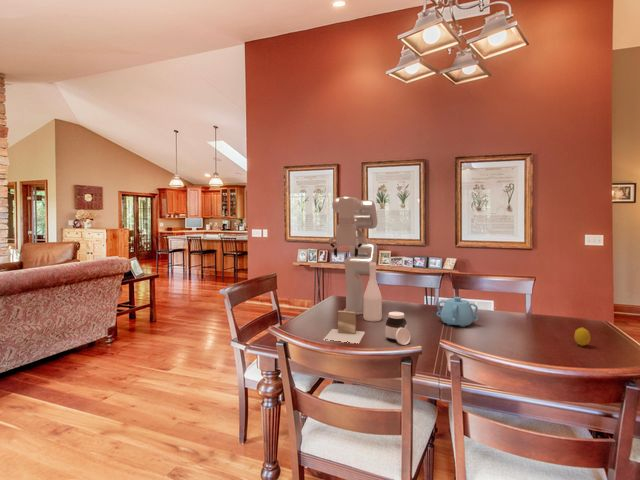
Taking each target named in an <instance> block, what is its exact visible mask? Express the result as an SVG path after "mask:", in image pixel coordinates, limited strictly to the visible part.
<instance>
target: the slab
mask: <svg viewBox="0 0 640 480" xmlns="http://www.w3.org/2000/svg"><path fill="white" fill-rule="evenodd" d="M337 329H338V333H345V334H355V333H356V331H357V315H356V311H345V310H344V309H343V310H342V309H339V310H338V311H337Z"/></svg>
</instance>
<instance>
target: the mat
mask: <svg viewBox="0 0 640 480" xmlns="http://www.w3.org/2000/svg"><path fill="white" fill-rule="evenodd" d="M327 333H328V334H326V335H325V337H324V338H323V339H322V341H323V340H324V342H331V341H330V340H334V341H341V342H340V343H344V342H347V341H348V342H350V343H348V342H347V343H346V344H354V343H356V344H355V345H357V343H358V345H359V344H360V342H361V341H362V338H364V335H365V333H366V331H363V330H362V331H360V330H359V331H358V330H356V333H355V334H345V333H338V328H336V329H335V328H331V329H330V331H329V332H327ZM325 339H328V340H326V341H325Z"/></svg>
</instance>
